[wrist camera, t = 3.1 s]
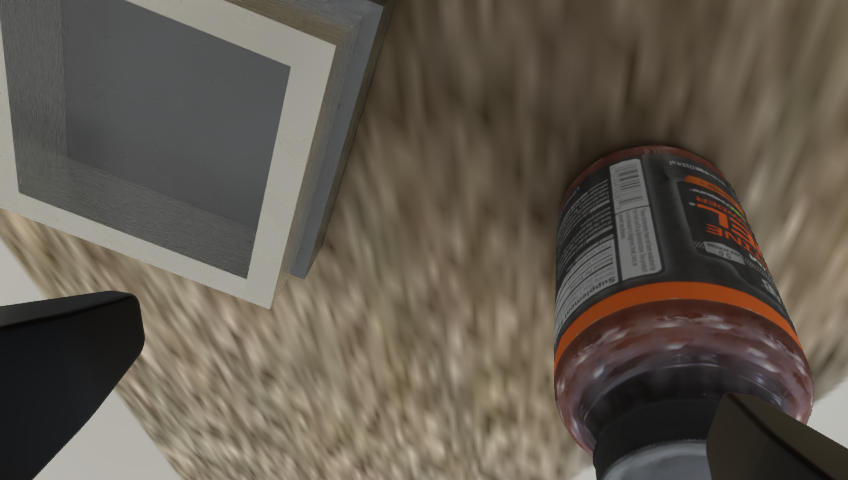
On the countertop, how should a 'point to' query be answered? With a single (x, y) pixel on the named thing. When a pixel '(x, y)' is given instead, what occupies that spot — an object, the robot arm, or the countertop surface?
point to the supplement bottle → (663, 315)
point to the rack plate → (186, 127)
